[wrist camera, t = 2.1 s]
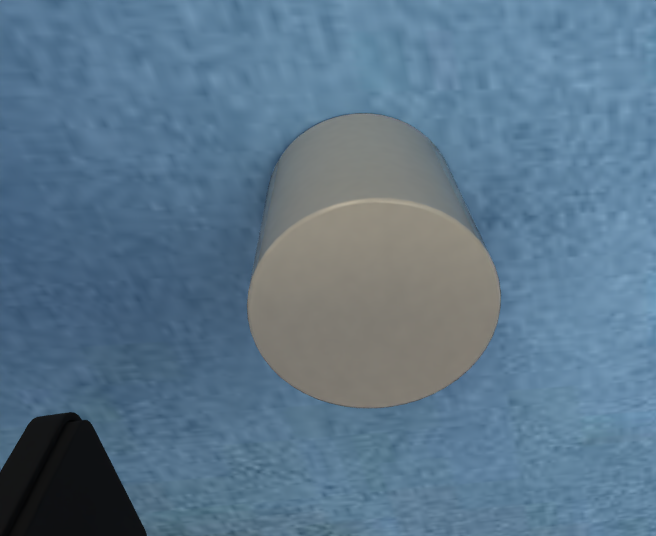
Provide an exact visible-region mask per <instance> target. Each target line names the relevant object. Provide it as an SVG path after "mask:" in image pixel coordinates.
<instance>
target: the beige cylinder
mask: <svg viewBox="0 0 656 536" xmlns="http://www.w3.org/2000/svg"><path fill="white" fill-rule="evenodd" d="M500 308H501V290H500V282H499V277H498V274H497V271H496V267H495V265H494V263H493V261H492V258H491V256H490V254H489V252H488V250H487V248H486V246H485V244H484V242H483V239H482V237H481V235H480V233H479V231H478V229H477V227H476V225H475V223H474V220H473V218H472V216H471V214H470V212H469V210H468V208H467V206H466V204H465V201H464V199H463V197H462V195H461V193H460V191H459V189H458V187H457V185H456V182H455V180H454V178H453V176H452V174H451V172H450V170H449V168H448V166H447V164H446V161H445V159H444V157H443V156H442V154H441V153H440V151H439V150H438V148H437V147H436V146H435V145H434V144H433V143H432V142H431V141H430V139H429V138H427V137H426V136H425V135H424V134H423V133H421V132H420V131H419V130H417V129H415V128H414V127H412V126H411V125H409V124H407V123H405V122H402V121H400V120H398V119H395V118H391V117H388V116H384V115H377V114H349V115H343V116H339V117H335V118H331V119H329V120H326V121H324V122H321V123H319V124H317V125H315V126H313V127H312V128H310V129H308V130H307V131H305V132H304V133H303V134H301V135H300V136H299V137H297V138H296V139H295V140H294V141H293V142H292V143H291V144H290V145H289V146H288V148H287V149H286V150H285V151H284V153H283V154H282V155H281V157H280V159H279V160H278V162H277V164H276V166H275V168H274V170H273V173H272V175H271V178H270V182H269V186H268V191H267V196H266V201H265V207H264V212H263V217H262V222H261V228H260V233H259V238H258V243H257V248H256V254H255V259H254V264H253V269H252V274H251V280H250V285H249V290H248V299H247V315H248V322H249V327H250V331H251V334H252V337H253V339H254V342H255V344H256V346H257V348H258V350H259V351H260V353H261V355H262V357H263V358H264V359H265V361H266V362H267V363H268V365H269V366H270V367H271V368H272V369H273V370H274V371H275V372H276V373H277V374H278V375H279V376H280V377H281V378H282V379H283V380H285V381H286V382H287V383H289V384H290V385H291V386H293V387H294V388H296V389H298V390H299V391H301V392H303V393H305V394H307V395H309V396H311V397H314V398H316V399H318V400H322V401H325V402H328V403H331V404H335V405H340V406H345V407H354V408H384V407H392V406H398V405H403V404H407V403H410V402H414V401H417V400H420V399H423V398H425V397H427V396H430V395H432V394H434V393H436V392H438V391H440V390H442V389H444V388H446V387H447V386H449V385H450V384H452V383H453V382H455V381H456V380H457V379H459V378H460V377H461V376H462V375H463V374H465V373H466V372H467V371H468V370H469V369H470V368H471V367H472V366H473V365H474V364H475V362H476V361H477V360H478V359H479V358H480V356H481V355H482V354H483V352H484V351H485V349H486V348H487V346H488V344H489V342H490V340H491V338H492V336H493V334H494V331H495V328H496V325H497V322H498V318H499V313H500Z"/></svg>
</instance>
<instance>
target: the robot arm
mask: <svg viewBox="0 0 656 536" xmlns="http://www.w3.org/2000/svg"><path fill="white" fill-rule="evenodd" d="M0 536H147V534H146V531H145V529H144V527H143V525H142V523H141V521H140V519H139V517H138V515H137V513H136V511H135V509H134V507H133V505H132V503H131V501H130V499H129V497H128V495H127V493H126V491H125V489H124V487H123V485H122V483H121V481H120V479H119V477H118V475H117V473H116V471H115V469H114V467H113V465H112V463H111V461H110V459H109V457H108V455H107V453H106V451H105V449H104V447H103V445H102V443H101V441H100V439H99V437H98V435H97V433H96V431H95V429H94V427H93V426H92V424H91V423H90V422H89V421H88V420H81V418H80V417H79V415H77V414H76V413H72V412H69V413H62V414H55V415H48V416H40V417H36V418H34V419H32V421H31V422H30V423H29V424H28V426H27V427H26V429H25V431H24V433H23V434H22V436H21V438H20V439H19V441H18V443H17V444H16V446H15V448H14V449H13V451H12V453H11V455H10V456H9V458H8V460H7V461H6V463H5V465H4V466H3V468H2V470H1V472H0Z"/></svg>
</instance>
